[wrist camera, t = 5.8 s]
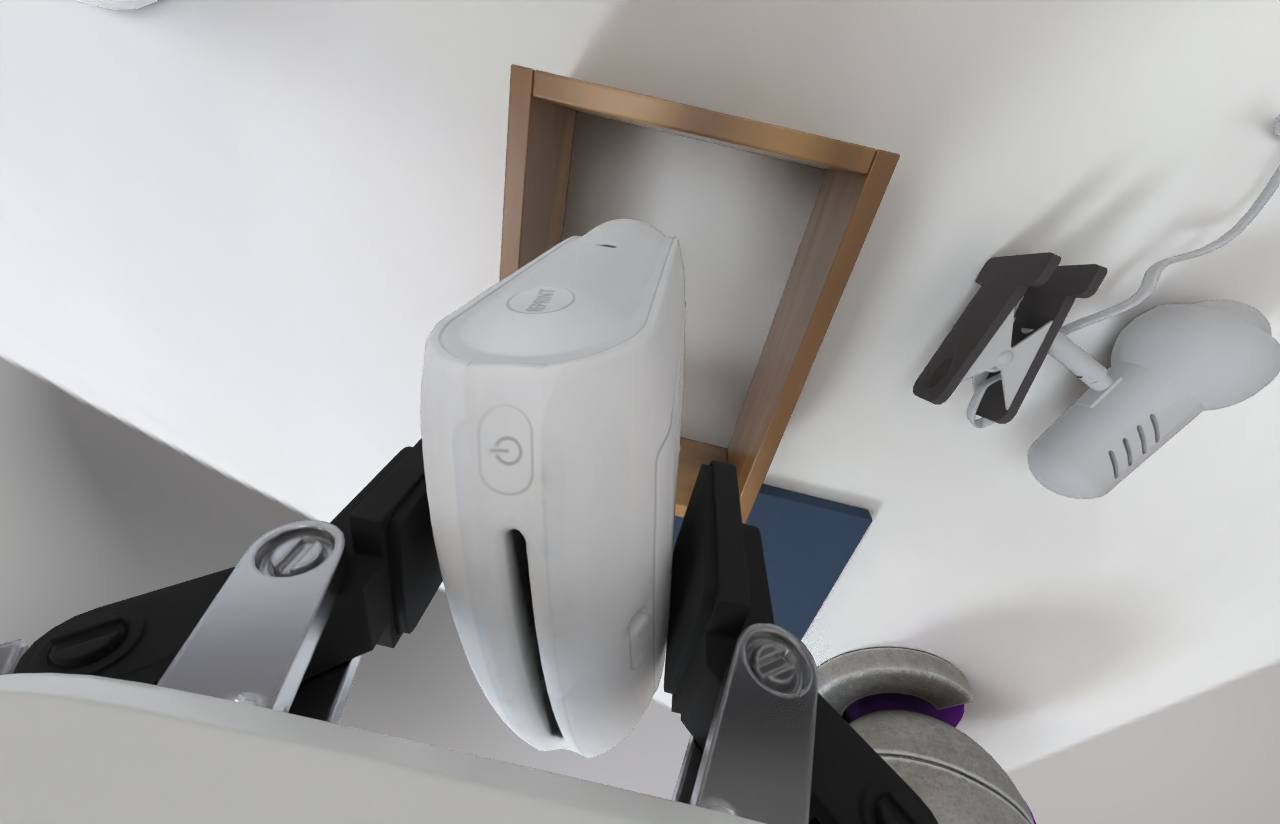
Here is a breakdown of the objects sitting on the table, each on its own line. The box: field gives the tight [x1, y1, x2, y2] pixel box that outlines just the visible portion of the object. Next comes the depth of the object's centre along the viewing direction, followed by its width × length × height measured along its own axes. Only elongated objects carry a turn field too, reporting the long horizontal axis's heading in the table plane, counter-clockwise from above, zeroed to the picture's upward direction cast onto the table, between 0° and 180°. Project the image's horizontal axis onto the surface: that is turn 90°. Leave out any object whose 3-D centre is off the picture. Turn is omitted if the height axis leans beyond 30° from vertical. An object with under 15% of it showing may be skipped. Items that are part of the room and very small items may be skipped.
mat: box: [673, 485, 872, 641], centre depth 34 cm, size 20×14×1 cm
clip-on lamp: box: [913, 115, 1280, 499], centre depth 20 cm, size 12×6×18 cm
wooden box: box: [500, 65, 900, 524], centre depth 23 cm, size 14×18×6 cm
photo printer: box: [420, 219, 686, 758], centre depth 13 cm, size 10×4×12 cm, turn 1°
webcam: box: [817, 648, 1036, 824], centre depth 33 cm, size 13×13×15 cm
